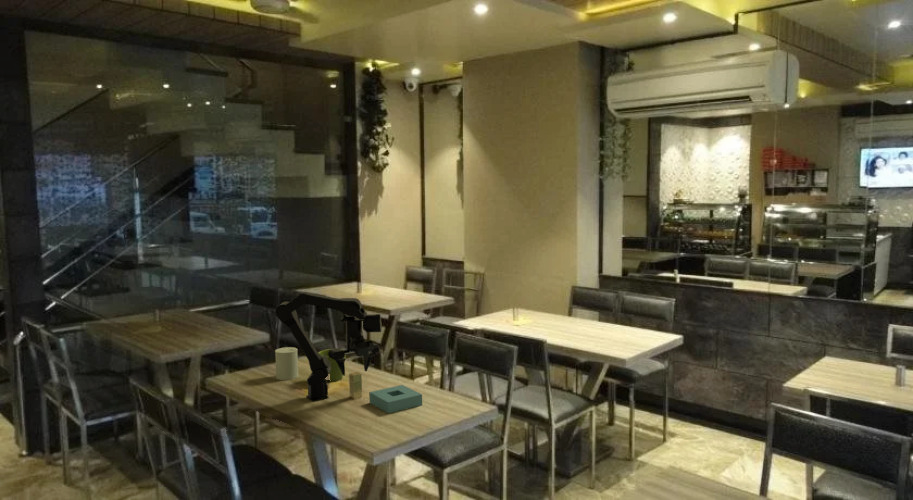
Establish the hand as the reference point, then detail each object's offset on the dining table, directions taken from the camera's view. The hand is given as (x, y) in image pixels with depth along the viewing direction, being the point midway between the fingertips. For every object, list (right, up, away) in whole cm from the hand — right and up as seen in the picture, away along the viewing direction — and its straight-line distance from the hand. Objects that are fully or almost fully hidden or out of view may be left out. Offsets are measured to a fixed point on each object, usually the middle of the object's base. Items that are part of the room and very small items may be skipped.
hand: (354, 373), depth 244 cm
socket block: (+16, -10, -7) cm, 20 cm away
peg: (0, -9, +1) cm, 9 cm away
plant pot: (-13, -7, +24) cm, 28 cm away
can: (-33, -7, +28) cm, 43 cm away
